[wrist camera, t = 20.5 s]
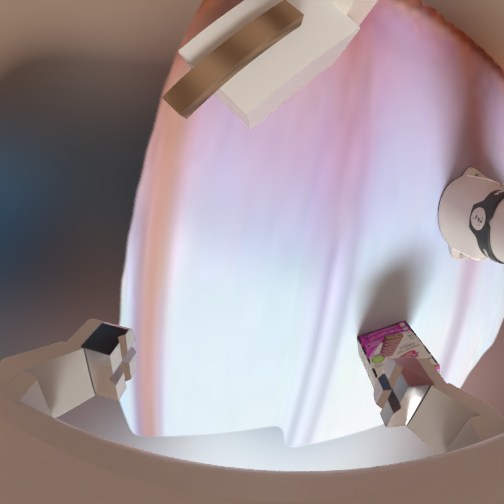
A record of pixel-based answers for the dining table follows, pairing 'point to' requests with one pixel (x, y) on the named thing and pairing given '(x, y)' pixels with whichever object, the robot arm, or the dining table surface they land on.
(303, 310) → the dining table surface
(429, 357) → the candy bar box
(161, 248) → the dining table surface
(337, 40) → the stepped stand
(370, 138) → the dining table surface
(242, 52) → the walnut bar
